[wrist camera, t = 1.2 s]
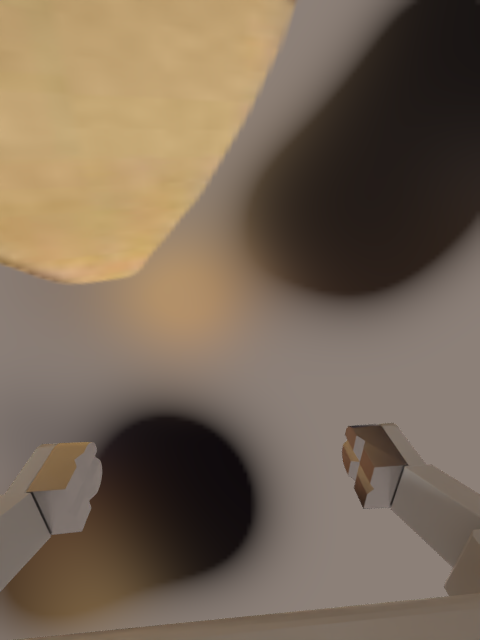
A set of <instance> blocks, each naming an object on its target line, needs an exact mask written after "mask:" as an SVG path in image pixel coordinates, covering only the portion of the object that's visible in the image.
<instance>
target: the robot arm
mask: <svg viewBox="0 0 480 640" xmlns="http://www.w3.org/2000/svg"><path fill="white" fill-rule="evenodd" d="M345 436H346V438H347V441H346V442H345V443H344V444H343V448H342V458H343V463H344V466H345V469H346V472H347V474H348V475H349V476H350V477H351V478H353V479H354V480H355V485H354V489H355V492H356V494H357V496H358V498H359V500H360V502H361V505H362V507H363V509H370V508H371V509H372V508H391V510H392V511H393V512H394V513H395V514H396V515H397V516H399V517H400V518H401V519H402V520H403V521H404V522H405V523H406V524H407V525H408V526H409V527H410V528H411V529H413V531H414V532H416V533H417V534H418V535H419V536H420V537H421V538H422V539H423V540H424V541H425V542H426V543H427V544H428V545H430V547H432V548H433V549H434V550H435V551H436V552H437V553H438V554H439V555H440V556H441V557H442V558H443V559H444V560H445V561H446V562H447V563H449V564H450V565H451V566H452V567H453V568H452V570H451V572H450V574H449V576H448V578H447V579H446V582H445V586H444V588H445V589H446V591H447V593H448V595H449V596H445V597H436V598H425V599H416V600H405V601H395V602H385V603H375V604H365V605H355V606H345V607H335V608H325V609H315V610H305V611H295V612H285V613H275V614H265V615H255V616H245V617H235V618H225V619H215V620H205V621H195V622H185V623H176V624H165V625H155V626H145V627H135V628H125V629H115V630H105V631H95V632H85V633H75V634H65V635H56V636H47V637H46V636H45V637H35V638H25V639H17V640H480V494H478V493H477V492H475V491H474V490H472V489H470V488H469V487H467V486H465V485H464V484H462V483H461V482H459V481H457V480H456V479H454V478H453V477H451V476H449V475H448V474H446V473H444V472H443V471H441V470H440V469H438V468H436V467H435V466H433V465H431V464H430V465H427V464H426V463H425V462H424V460H423V459H422V458H421V457H420V455H419V454H418V452H417V451H416V450H415V449H414V447H413V446H412V445H411V443H410V442H409V441H408V439H407V438H406V437H405V435H404V434H403V433H402V431H401V430H400V429H399V427H398V426H397V425H396V424H394V423H383V424H369V425H355V426H348V427H347V428H346V432H345ZM96 451H97V449H96V446H95V443H93V442H80V443H59V444H42V445H40V446H39V447H38V448H36V450H35V451H34V453H33V454H32V456H31V457H30V458H29V460H28V461H27V463H26V464H25V466H24V467H23V469H22V470H21V472H20V473H19V474H18V476H17V477H16V479H15V480H14V482H13V483H12V484H11V486H10V487H9V489H8V490H7V492H6V493H5V495H0V591H1V590H2V589H3V588H4V587H5V586H6V585H7V584H8V583H9V581H11V579H12V578H13V577H14V576H15V575H16V574H17V573H18V572H19V571H20V569H22V567H23V566H24V565H25V564H26V563H27V562H28V561H29V560H30V559H31V558H32V557H33V556H34V554H35V553H36V552H37V551H38V550H39V549H40V548H41V547H42V546H43V544H44V543H45V542H46V541H47V540H48V539H49V538H50V537H51V535H52V534H62V533H71V532H80V531H82V530H83V527H84V525H85V522H86V520H87V517H88V515H89V512H90V510H91V506H90V503H89V500H90V499H91V498H92V497H93V496H94V495H95V494H96V493H97V492H98V489H99V486H100V483H101V477H102V465H101V462H100V460H99V459H97V458H96V457H95V454H96ZM15 640H16V639H15Z"/></svg>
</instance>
